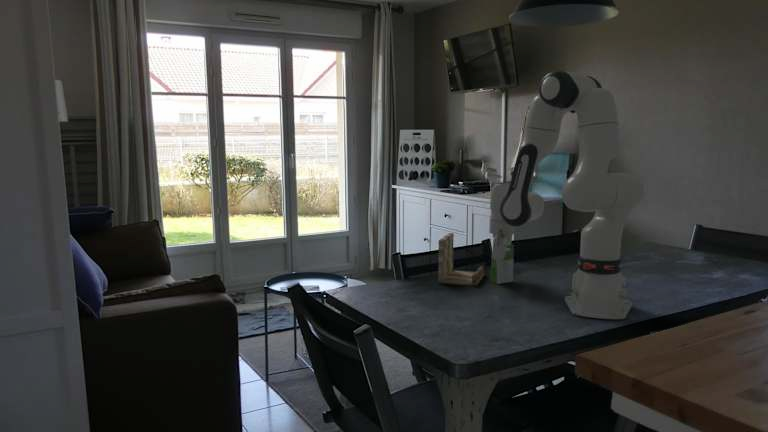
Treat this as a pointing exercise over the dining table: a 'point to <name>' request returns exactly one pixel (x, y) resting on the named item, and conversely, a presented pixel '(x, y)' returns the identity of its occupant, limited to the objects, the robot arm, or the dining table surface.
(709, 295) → the dining table surface
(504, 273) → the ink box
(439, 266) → the board
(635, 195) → the robot arm
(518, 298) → the dining table surface
